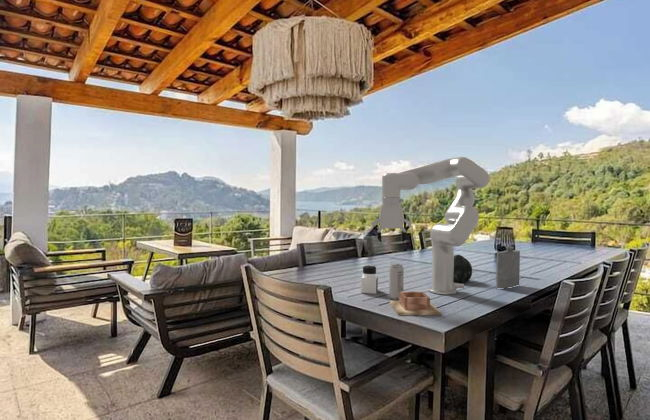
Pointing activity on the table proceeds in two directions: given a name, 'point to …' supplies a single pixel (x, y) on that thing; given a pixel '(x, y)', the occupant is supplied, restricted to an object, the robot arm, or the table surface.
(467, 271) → the squash
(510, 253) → the grey tall flat block
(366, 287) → the medicine bottle
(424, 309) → the can sleeve stand
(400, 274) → the energy drink can
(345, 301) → the table surface
